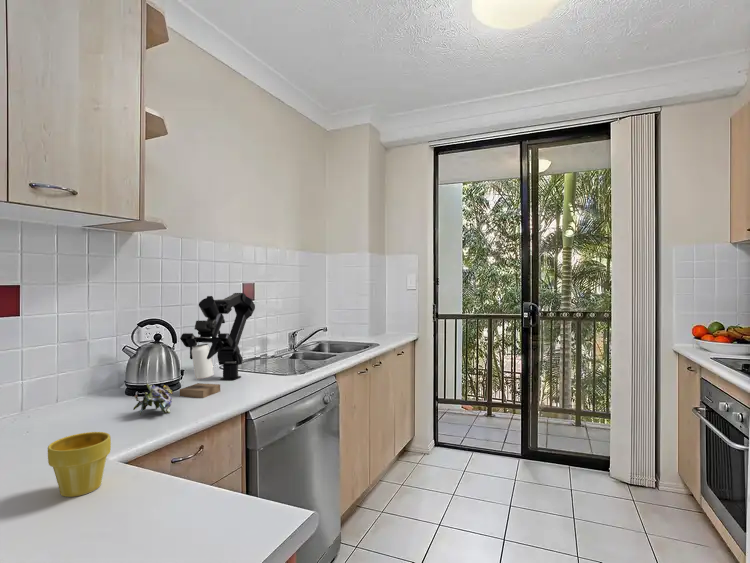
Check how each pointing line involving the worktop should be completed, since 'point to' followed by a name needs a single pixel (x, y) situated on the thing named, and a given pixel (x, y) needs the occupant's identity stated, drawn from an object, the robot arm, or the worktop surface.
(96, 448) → the plant pot
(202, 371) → the can
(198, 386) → the walnut block
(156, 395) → the passion flower
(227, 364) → the robot arm
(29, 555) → the worktop surface
